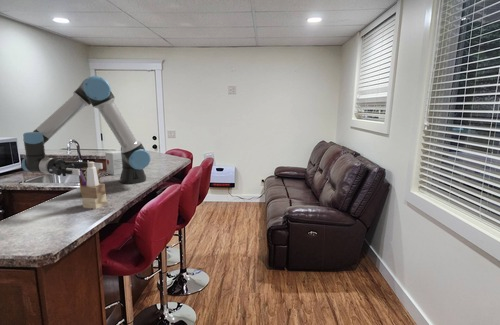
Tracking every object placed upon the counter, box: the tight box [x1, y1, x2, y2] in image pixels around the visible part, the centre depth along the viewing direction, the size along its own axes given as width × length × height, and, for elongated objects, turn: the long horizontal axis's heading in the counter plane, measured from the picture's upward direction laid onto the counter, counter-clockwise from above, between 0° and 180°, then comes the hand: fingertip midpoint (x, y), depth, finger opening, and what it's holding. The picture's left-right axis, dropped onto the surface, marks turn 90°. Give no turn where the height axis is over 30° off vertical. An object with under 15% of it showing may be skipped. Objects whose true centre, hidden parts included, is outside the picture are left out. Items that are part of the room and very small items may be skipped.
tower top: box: [80, 182, 107, 199], centre depth 134 cm, size 7×7×5 cm
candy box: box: [77, 168, 101, 196], centre depth 151 cm, size 9×4×15 cm, turn 89°
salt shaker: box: [87, 161, 99, 187], centre depth 132 cm, size 5×5×11 cm
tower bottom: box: [81, 194, 108, 210], centre depth 135 cm, size 7×7×5 cm
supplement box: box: [104, 150, 122, 176], centre depth 197 cm, size 9×9×15 cm
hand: (91, 169), depth 132 cm, fingers open, 13 cm apart
